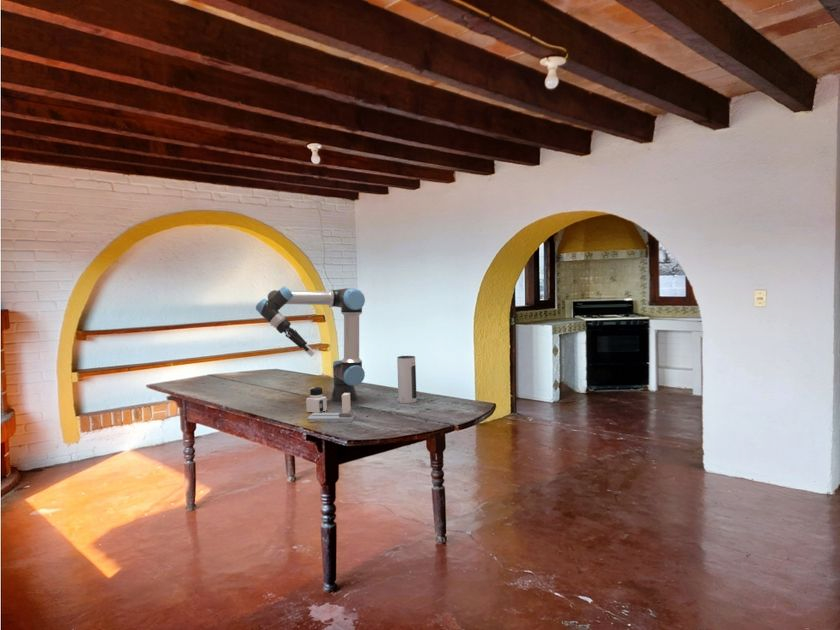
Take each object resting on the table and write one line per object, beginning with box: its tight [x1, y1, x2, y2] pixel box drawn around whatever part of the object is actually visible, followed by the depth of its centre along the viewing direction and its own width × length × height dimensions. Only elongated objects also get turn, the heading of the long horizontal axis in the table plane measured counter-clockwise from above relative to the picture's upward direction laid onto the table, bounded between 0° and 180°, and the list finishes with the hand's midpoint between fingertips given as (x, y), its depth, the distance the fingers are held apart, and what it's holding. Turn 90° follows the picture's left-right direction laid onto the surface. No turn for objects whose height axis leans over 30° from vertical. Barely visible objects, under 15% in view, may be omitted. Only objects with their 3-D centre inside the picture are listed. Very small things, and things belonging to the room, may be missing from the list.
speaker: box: [396, 355, 418, 405], centre depth 332 cm, size 11×10×26 cm
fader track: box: [306, 412, 357, 423], centre depth 296 cm, size 12×22×2 cm, turn 85°
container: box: [305, 386, 328, 413], centre depth 313 cm, size 8×8×13 cm
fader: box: [338, 393, 355, 417], centre depth 294 cm, size 8×6×10 cm
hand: (313, 354), depth 309 cm, fingers closed
